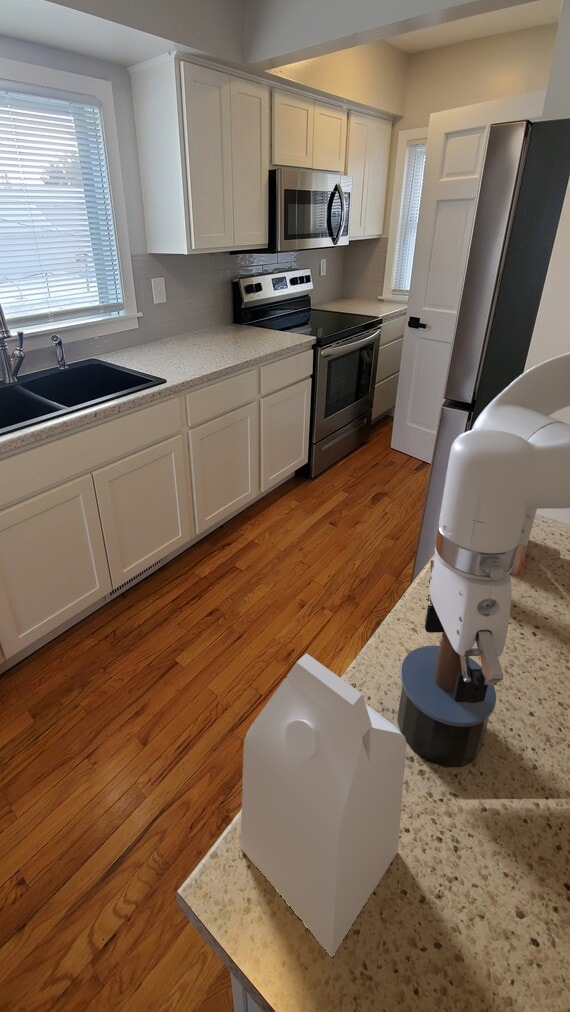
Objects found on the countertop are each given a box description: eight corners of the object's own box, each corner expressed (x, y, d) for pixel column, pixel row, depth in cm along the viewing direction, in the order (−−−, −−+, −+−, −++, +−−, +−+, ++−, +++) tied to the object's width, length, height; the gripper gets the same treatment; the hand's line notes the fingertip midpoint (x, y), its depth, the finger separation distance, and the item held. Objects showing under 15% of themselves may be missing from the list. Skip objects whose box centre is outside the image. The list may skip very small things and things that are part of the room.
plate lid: (472, 651, 64) (482, 604, 61) (511, 730, 55) (526, 679, 51) (390, 652, 65) (396, 605, 61) (414, 730, 55) (423, 680, 51)
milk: (397, 851, 51) (428, 678, 40) (332, 959, 44) (348, 783, 33) (308, 768, 59) (314, 605, 48) (240, 848, 52) (229, 676, 41)
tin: (461, 695, 67) (471, 650, 64) (494, 770, 58) (507, 723, 55) (389, 695, 68) (394, 651, 64) (410, 770, 58) (418, 723, 55)
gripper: (558, 606, 43) (519, 733, 50) (476, 500, 59) (455, 608, 66) (472, 607, 43) (446, 733, 50) (413, 501, 59) (399, 609, 66)
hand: (451, 662), depth 58 cm, fingers open, 9 cm apart
